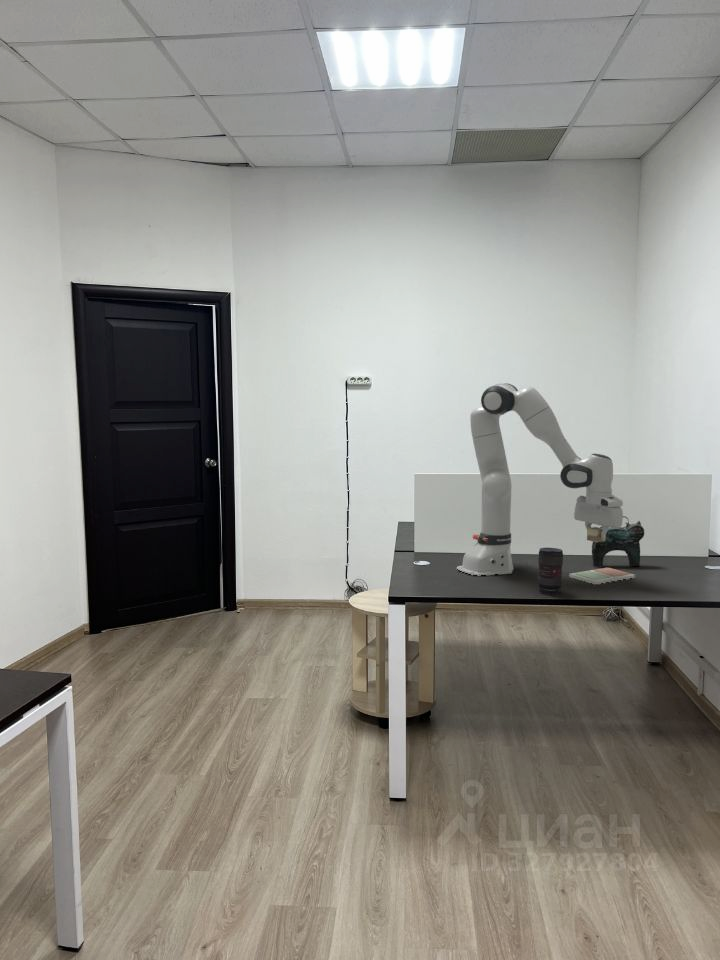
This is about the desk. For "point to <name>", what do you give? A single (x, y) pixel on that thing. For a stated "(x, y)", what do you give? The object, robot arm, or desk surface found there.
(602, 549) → the ceramic cat
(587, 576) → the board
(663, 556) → the desk surface
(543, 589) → the camera lens
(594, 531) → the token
